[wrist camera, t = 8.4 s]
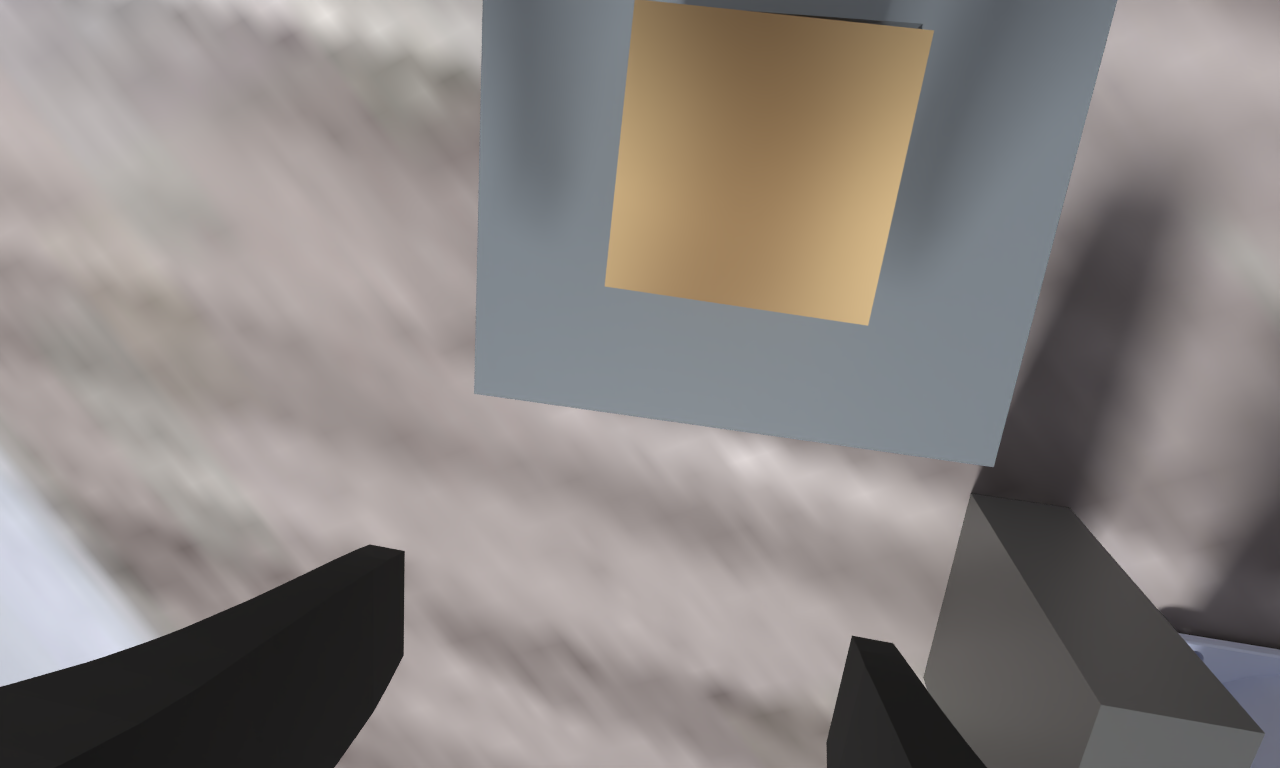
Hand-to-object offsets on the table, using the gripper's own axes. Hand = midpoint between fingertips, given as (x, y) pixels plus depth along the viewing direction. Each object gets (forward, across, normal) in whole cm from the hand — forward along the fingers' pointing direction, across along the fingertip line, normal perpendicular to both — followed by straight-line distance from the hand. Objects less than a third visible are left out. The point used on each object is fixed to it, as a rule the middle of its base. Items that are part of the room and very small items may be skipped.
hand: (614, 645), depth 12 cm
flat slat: (+9, -9, +3) cm, 14 cm away
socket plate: (+9, -1, -8) cm, 12 cm away
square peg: (+9, -1, -7) cm, 12 cm away
